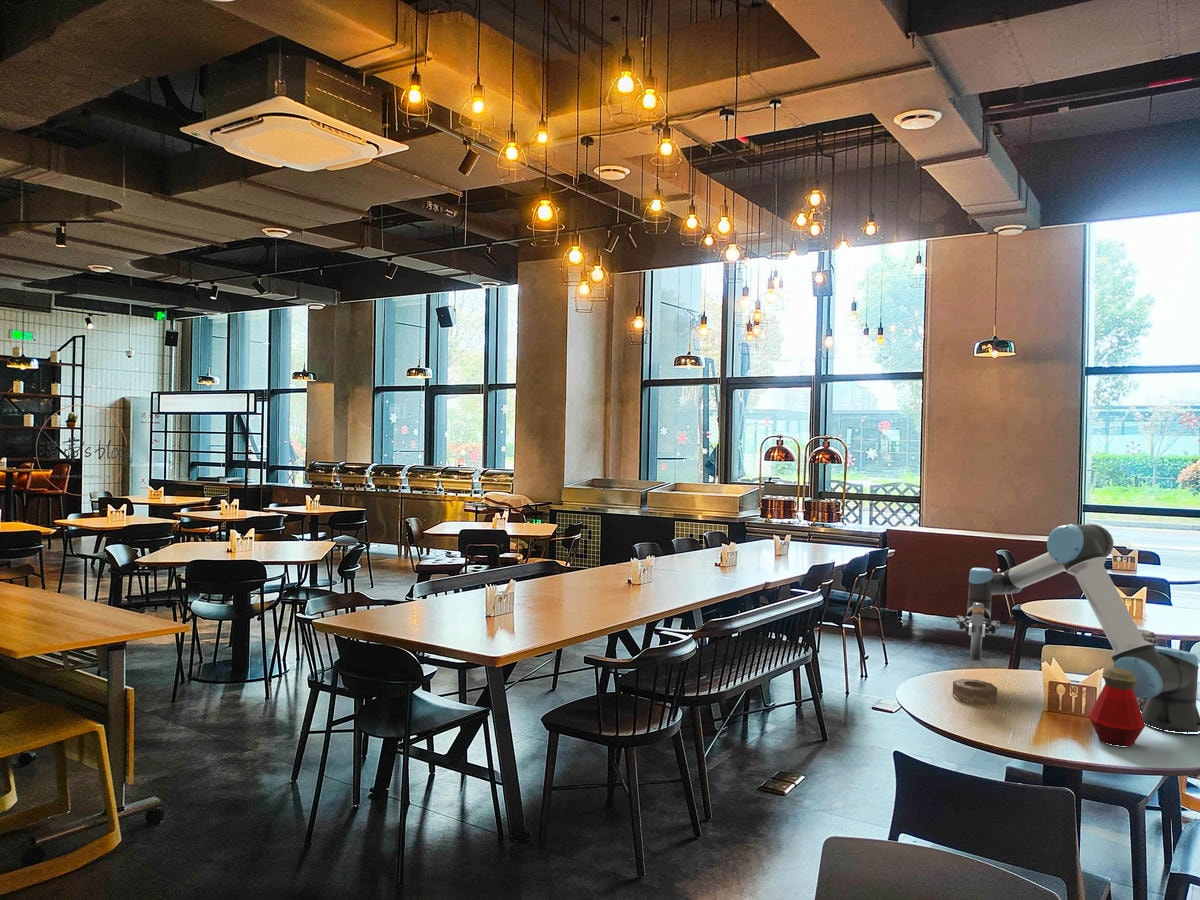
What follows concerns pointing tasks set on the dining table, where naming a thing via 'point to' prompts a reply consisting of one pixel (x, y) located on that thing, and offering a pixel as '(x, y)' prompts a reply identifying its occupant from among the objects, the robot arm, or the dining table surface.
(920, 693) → the dining table surface
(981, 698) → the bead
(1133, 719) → the bottle
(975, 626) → the copper-banded metal rod
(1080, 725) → the dining table surface
